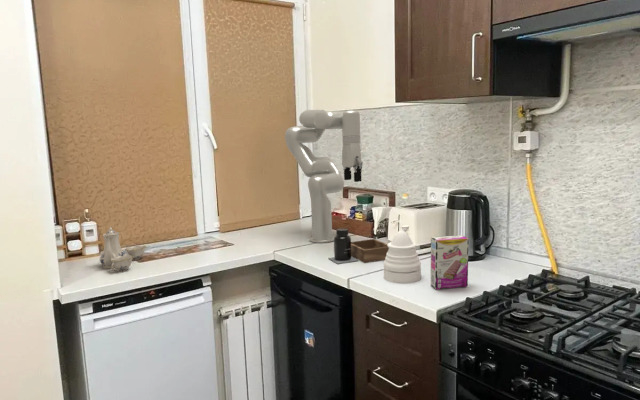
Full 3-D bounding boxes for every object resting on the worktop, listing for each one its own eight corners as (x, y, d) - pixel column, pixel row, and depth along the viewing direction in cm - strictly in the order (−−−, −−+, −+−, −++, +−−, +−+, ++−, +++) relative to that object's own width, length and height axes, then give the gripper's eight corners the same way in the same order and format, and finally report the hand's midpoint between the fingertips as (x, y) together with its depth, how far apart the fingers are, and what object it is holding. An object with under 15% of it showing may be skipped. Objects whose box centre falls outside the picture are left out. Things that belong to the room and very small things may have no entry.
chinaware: (134, 277, 190) (134, 235, 188) (88, 276, 187) (89, 233, 185) (147, 259, 217) (148, 222, 215) (108, 258, 215) (108, 221, 213)
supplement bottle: (350, 261, 192) (349, 231, 190) (333, 260, 193) (332, 231, 192) (352, 256, 199) (351, 227, 197) (336, 256, 200) (335, 227, 198)
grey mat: (328, 259, 198) (328, 257, 198) (348, 256, 202) (348, 255, 202) (337, 264, 190) (337, 263, 190) (358, 261, 193) (358, 260, 193)
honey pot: (400, 270, 179) (400, 222, 177) (428, 277, 169) (428, 226, 167) (376, 277, 171) (375, 227, 169) (403, 285, 161) (402, 232, 159)
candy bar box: (436, 290, 155) (435, 240, 153) (430, 285, 160) (429, 237, 158) (469, 287, 157) (469, 237, 155) (462, 282, 162) (462, 234, 160)
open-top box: (347, 254, 205) (346, 242, 204) (374, 250, 210) (374, 238, 209) (364, 262, 190) (364, 250, 190) (393, 258, 195) (393, 246, 195)
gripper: (335, 140, 212) (336, 179, 214) (352, 140, 196) (353, 183, 198) (350, 139, 215) (351, 178, 217) (368, 140, 199) (370, 181, 201)
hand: (352, 180), depth 208 cm, fingers open, 9 cm apart
